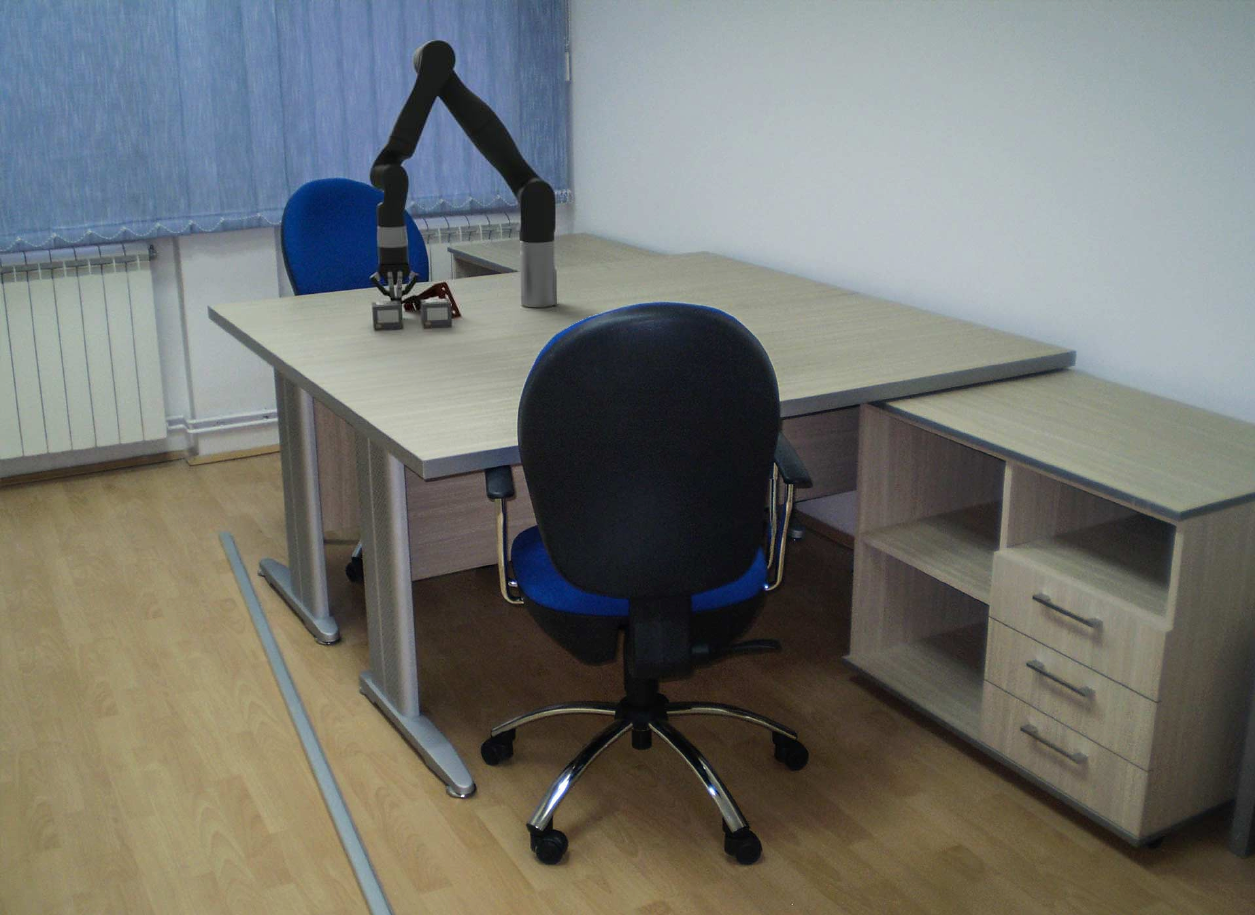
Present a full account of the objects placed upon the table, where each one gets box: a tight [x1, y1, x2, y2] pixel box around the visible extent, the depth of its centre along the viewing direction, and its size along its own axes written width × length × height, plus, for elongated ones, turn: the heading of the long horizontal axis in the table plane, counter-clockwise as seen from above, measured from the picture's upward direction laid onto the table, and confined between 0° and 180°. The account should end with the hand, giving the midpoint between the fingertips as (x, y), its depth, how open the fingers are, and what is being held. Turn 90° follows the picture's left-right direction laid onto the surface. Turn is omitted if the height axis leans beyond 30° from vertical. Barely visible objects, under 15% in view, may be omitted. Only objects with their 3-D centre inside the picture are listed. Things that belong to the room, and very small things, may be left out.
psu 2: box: [420, 298, 453, 329], centre depth 317 cm, size 7×6×6 cm
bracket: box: [401, 281, 462, 320], centre depth 328 cm, size 10×14×10 cm
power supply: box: [371, 300, 404, 332], centre depth 314 cm, size 7×6×6 cm
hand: (396, 311), depth 326 cm, fingers closed
